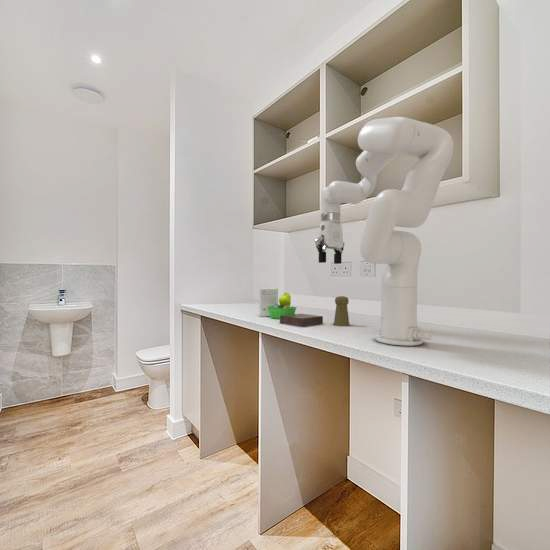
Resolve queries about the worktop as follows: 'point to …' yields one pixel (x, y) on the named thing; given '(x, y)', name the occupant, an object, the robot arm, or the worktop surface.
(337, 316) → the olive tapered cylinder
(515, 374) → the worktop surface
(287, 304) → the fruit basket
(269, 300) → the small box
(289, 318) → the block
